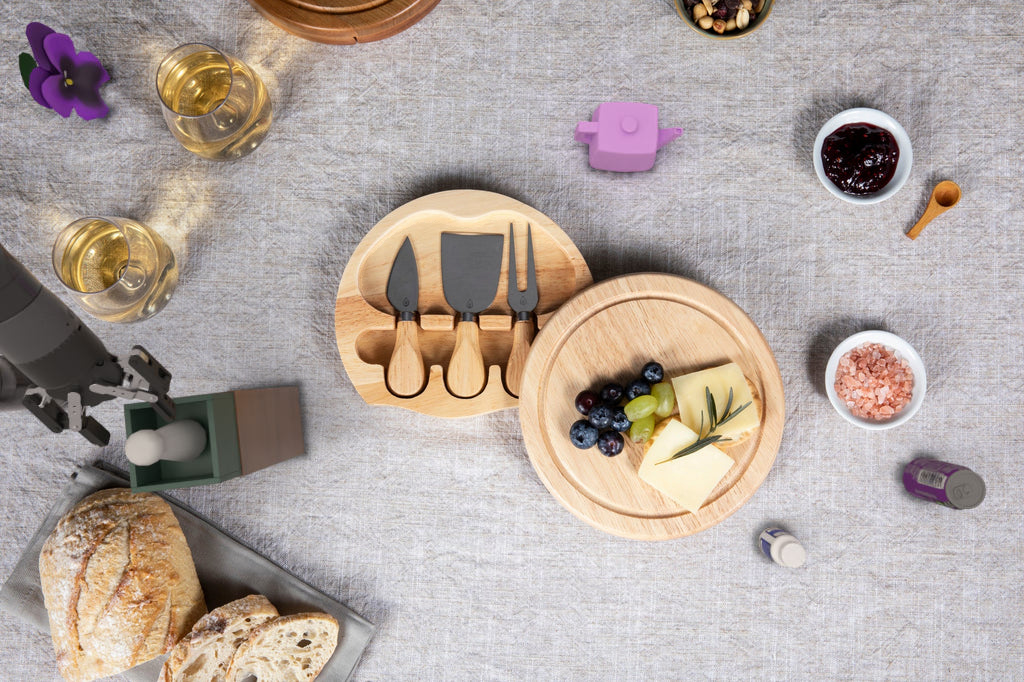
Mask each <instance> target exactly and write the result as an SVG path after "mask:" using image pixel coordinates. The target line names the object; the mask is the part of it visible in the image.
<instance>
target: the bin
mask: <svg viewBox="0 0 1024 682" xmlns="http://www.w3.org/2000/svg"><path fill="white" fill-rule="evenodd" d="M213 393H214V394H210V393H203V394H204V395H202V394H195V395H196V396H193V395H187V396H188V397H185V396H179V397H180V398H177V397H171V398H172V400H173V401H174V402H175V403H176V405H177V410H176V416H175V420H174V421H176V420H178V419H192V420H194V421H196V422H199V423H200V424H201V426H202V427H203V428H204V429H205V430H206V431H207V445H206V447H205V449H204V450H203V452H202V453H201V454H200V455H199V456H198V457H196V458H194V459H193V460H191V461H172V460H164V459H159V461H157V462H155V463H153V464H151V465H136V464H134V463H132V462H130V460H129V459H128V458H127V460H128V468H129V480H130V488H131V490H130V491H131V494H132V495H134V494H142V493H151V492H159V491H168V490H175V489H176V490H177V489H183V488H184V489H185V488H192V487H201V486H210V485H217V484H222V483H225V482H228V481H231V480H233V479H235V478H239V477H238V476H241V475H242V471H241V462H240V452H239V442H238V432H237V422H236V412H235V402H234V392H227V393H218V392H213ZM123 414H124V426H125V437H126V440H127V439H128V438H129V437H130V435H132V434H134V433H136V432H138V431H140V430H154V431H155V430H157V429H160V428H162V427H164V426H166V425H168V424H170V423H172V422H174V421H171V422H166V421H165V420H164V419H163V418H162V417H161V416H160V415H159V414H158V413H157V412H156V411H155V410H154V409H153V408H152V407H151V406H150V402H148V401H140V402H130V403H123Z"/></svg>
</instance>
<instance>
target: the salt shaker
mask: <svg viewBox="0 0 1024 682" xmlns="http://www.w3.org/2000/svg"><path fill="white" fill-rule="evenodd" d="M206 445H207V431H206V430H205V429H204V428H203V427H202V426H201V424H200V423H199V422H196V421H194V420H192V419H178V420H176V421H174V422H172V423H170V424H168V425H166V426H164V427H162V428H160V429H157V430H155V431H154V430H140V431H138V432H136V433H134V434H132V435H130V437H129V438H128V439H127V438H126V441H125V445H124V454H125V457H126V458H127V460H128V459H129V460H130V462H132V463H134V464H136V465H151V464H153V463H155V462H157V461H159V459H164V460H172V461H191V460H193V459H194V458H196V457H198V456H199V455H200V454H201V453H202V452H203V450H204V449H205V447H206ZM129 460H128V461H129Z"/></svg>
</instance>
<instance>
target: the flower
mask: <svg viewBox="0 0 1024 682" xmlns="http://www.w3.org/2000/svg"><path fill="white" fill-rule="evenodd" d="M25 36H26V39H27V42H28V43H29V46H30V49H31V52H32V54H33V56H32V55H31V54H30V53H28V52H25V51H22V52H20V53H19V55H18V67H19V74H20V76H21V79H22V82H23V85H24V87H25V88H26V89H27V91H29V93H30V96H31V97H32V100H34V101H35V102H36V103H37V104H38V105H39V106H40V107H43V108H46V109H48V110H53V111H54V112H55V113H57V114H58V115H59V116H61V117H62V118H64V119H68V118H70V117H71V114H72V112H73V109H74V111H75V113H76V115H77V116H78V117H79V118H81V119H83V120H85V122H89V121H93V120H95V119H104V118H105V117H106V116H107V114H108V113H109V111H110V109H109V107H108V106H107V104H106V103H105V101H104V100H103V98H102V96H101V93H100V88H101V86H102V84H104V83H106V82H108V81H109V80H111V77H110V75H109V73H108V71H107V70H106V69H105V68H104V66H103V64H102V62H101V60H100V59H99V58H98V57H96V56H95V55H94V54H93V53H92V52H91V51H83V50H80V51H78V53H77V52H76V48H75V45H74V41H73V40H72V38H71V37H70V35H69V34H66V33H62V32H57V31H56V30H55V29H54V28H51V27H50V26H49V25H47V24H44V23H42V22H39V21H30V22H29V23H28V24H27V25H26V27H25Z"/></svg>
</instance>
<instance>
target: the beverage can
mask: <svg viewBox="0 0 1024 682" xmlns="http://www.w3.org/2000/svg"><path fill="white" fill-rule="evenodd" d="M902 482H903V486H904V487H905V490H906V491H907V492H908V494H910V495H911V496H912V497H914V498H917V499H920V500H923V501H926V502H929V503H933V504H935V505H938V506H941V507H946V508H949V509H952V510H957V511H963V510H972V509H976V508H977V507H979V506H980V505H982V503H983V501H984V500H985V498H986V495H987V486H986V482H985V480H984V479H983V477H982V476H981V475H980V474H979V473H977V472H975V471H974V470H972V469H971V468H969V467H968V466H964V465H961V464H956V463H952V462H947V461H942V460H937V459H934V458H928V457H918V458H914V459H913V460H911V461H909V462H908V464H906V466H905V468H904V470H903V473H902Z"/></svg>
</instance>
